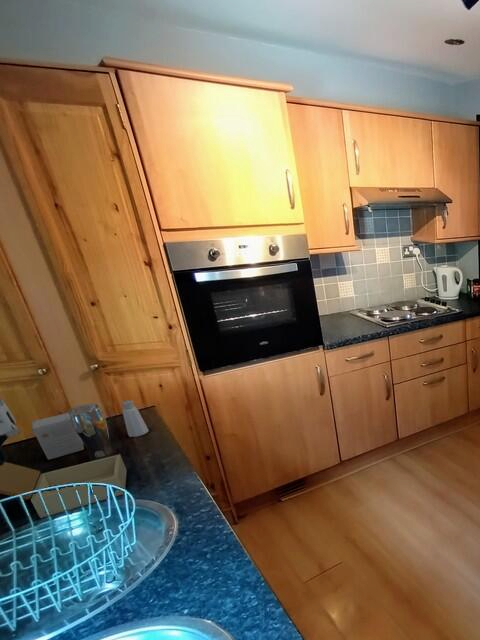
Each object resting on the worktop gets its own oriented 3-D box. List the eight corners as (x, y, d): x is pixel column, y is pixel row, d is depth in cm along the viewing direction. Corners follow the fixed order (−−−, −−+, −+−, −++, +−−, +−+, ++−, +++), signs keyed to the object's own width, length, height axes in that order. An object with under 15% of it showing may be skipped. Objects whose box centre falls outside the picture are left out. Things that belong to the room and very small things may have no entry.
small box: (83, 442, 136) (69, 412, 132) (84, 450, 133) (70, 418, 129) (46, 452, 131) (31, 421, 127) (47, 460, 128) (31, 428, 123)
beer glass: (89, 464, 126) (68, 417, 120) (85, 455, 130) (64, 409, 124) (121, 454, 131) (102, 408, 124) (115, 446, 135) (97, 401, 129)
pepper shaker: (151, 427, 145) (140, 396, 141) (146, 435, 141) (134, 403, 136) (130, 430, 143) (118, 399, 139) (125, 438, 139) (112, 406, 134)
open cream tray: (126, 470, 123) (120, 454, 121) (124, 493, 114) (117, 476, 112) (49, 491, 115) (40, 474, 113) (40, 518, 106) (30, 500, 103)
